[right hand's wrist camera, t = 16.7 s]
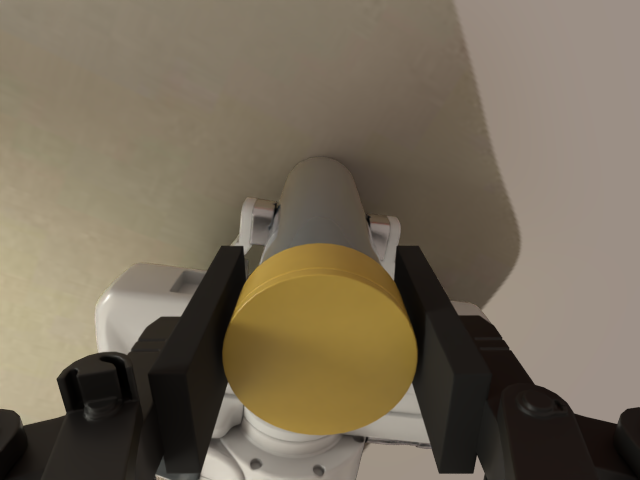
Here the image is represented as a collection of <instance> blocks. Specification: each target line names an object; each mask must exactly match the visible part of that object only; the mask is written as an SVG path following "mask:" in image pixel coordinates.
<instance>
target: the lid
mask: <svg viewBox="0 0 640 480" xmlns="http://www.w3.org/2000/svg"><path fill="white" fill-rule="evenodd" d="M222 360H223V367H224V372H225V375H226V378H227V380H228V383H229V385H230V387H231V389H232V390H233V392H234V394H235V395H236V396H237V398H238V399H239V400H240V402H241V403H242V404H243V405H244V406H245V407H246V408H247V409H248V410H250V411H251V412H252V413H253V414H255V415H256V416H257V417H259V418H260V419H262V420H264V421H265V422H267V423H269V424H271V425H273V426H276V427H278V428H281V429H284V430H287V431H291V432H295V433H300V434H307V435H334V434H340V433H346V432H350V431H353V430H357V429H359V428H362V427H365V426H367V425H369V424H371V423H373V422H375V421H377V420H378V419H380V418H381V417H383V416H384V415H386V414H387V413H388V412H389V411H391V410H392V409H393V408H394V407H395V406H396V405H397V404H398V403H399V402H400V401H401V400H402V398H403V397H404V395H405V394H406V393H407V391H408V389H409V387H410V385H411V383H412V381H413V379H414V376H415V373H416V368H417V363H418V346H417V339H416V336H415V333H414V330H413V327H412V324H411V322H410V319H409V316H408V313H407V311H406V308H405V305H404V303H403V300H402V297H401V294H400V292H399V290H398V288H397V286H396V284H395V282H394V280H393V279H392V278H391V276H390V275H389V273H388V272H387V271H386V270H385V269H384V268H383V267H382V266H381V265H380V264H378V263H377V262H376V261H375V260H373V259H372V258H370V257H368V256H367V255H365V254H363V253H361V252H359V251H357V250H354V249H352V248H348V247H345V246H341V245H335V244H326V243H314V244H305V245H300V246H295V247H292V248H289V249H286V250H283V251H281V252H279V253H277V254H275V255H273V256H272V257H270V258H269V259H267V260H266V261H264V262H263V263H262V264H261V265H260V266H258V267H257V268H256V269H255V270H254V272H253V273H252V274H251V275H250V276H249V278H248V279H247V281H246V282H245V284H244V286H243V288H242V290H241V292H240V295H239V298H238V300H237V303H236V306H235V309H234V311H233V314H232V317H231V319H230V322H229V325H228V328H227V330H226V334H225V337H224V341H223V349H222Z"/></svg>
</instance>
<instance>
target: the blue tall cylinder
mask: <svg viewBox="0 0 640 480" xmlns="http://www.w3.org/2000/svg"><path fill="white" fill-rule="evenodd" d="M314 243H326V244H335V245H341V246H345V247H348V248H352V249H354V250H357V251H359V252H361V253H363V254H365V255H367V256H368V257H370V258H372V259H373V260H375V261H376V262H377V263H378V264H380V265H381V266H382V264H381V261H380V258H379V255H378V252H377V249H376V246H375V243H374V240H373V237H372V233H371V230H370V227H369V224H368V221H367V218H366V215H365V212H364V209H363V206H362V203H361V200H360V197H359V194H358V190H357V187H356V184H355V181H354V178H353V176H352V174H351V173H350V172H349V170H348V169H347V168H346V167H345V166H344V165H343V164H341V163H340V162H338V161H336V160H334V159H331V158H327V157H313V158H309V159H306V160H304V161H302V162H300V163H299V164H297V165H296V166H295V167H294V168H293V169H292V170H291V172H290V173H289V175H288V177H287V179H286V182H285V185H284V188H283V191H282V194H281V197H280V200H279V203H278V206H277V209H276V212H275V215H274V218H273V222H272V225H271V228H270V231H269V234H268V237H267V240H266V243H265V246H264V249H263V252H262V255H261V258H260V262H259V265H258V266H260V265H261V264H262V263H263V262H264V261H266V260H267V259H269V258H270V257H272V256H273V255H275V254H277V253H279V252H281V251H283V250H286V249H289V248H292V247H295V246H300V245H305V244H314Z"/></svg>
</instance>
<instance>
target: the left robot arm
mask: <svg viewBox="0 0 640 480" xmlns="http://www.w3.org/2000/svg"><path fill="white" fill-rule="evenodd" d="M276 209H277V201H270V200H264V199H257V198H250V197H247V198H246V200H245V201H244V203H243V207H242V212H241V221H240V234H239V235H238V236H237V238H236V239H235V240H234V241H233V243H232V244H231V245H230V246H244V256H245V255H246V253H247V252H248V251H249V249H250V248H251V247H252V245H253V244H256V245H265V243H266V240H267V237H268V234H269V231H270V228H271V225H272V222H273V218H274V215H275V212H276ZM366 218H367V221H368V224H369V227H370V230H371V233H372V237H373V240H374V243H375V246H376V249H377V252H378V255H379V258H380V261H381V264H382V266H383V268H384V269H385V270H386V271H387V272H388V273H389V275H390V276H391V278H392V279H393V280H394V272H395V256H396V246H398V243H399V239H400V234H401V224H400V222H399V220H398V218H397V217H393V216H386V215H378V214H370V213H367V215H366ZM248 267H249V261H248V260H247V259H245V272H246V281H247V279H248V278H249V276H248ZM206 272H207V270H199V269H191V268H183V267H175V266H167V265H159V264H151V263H143V262H141V263H135V264H133V265H132V266H130V267H129V268H128V269H127V270H125V271H124V272H123V273H122V274H120V275H119V276H118V277H117V278H116V279H115V280H114V281H113V282H112V283H111V284H110V285H109V286H108V287H107V288H106V290H105V291H104V292H103V293H102V295H101V296H100V298H99V300H98V302H97V304H96V308H95V330H96V340H97V348H98V353H101V352H119V353H123V354H126V355H127V354H128V353H129V352H131V348H132V347H133V346H134V344H135V343H136V342H138V338H139V337H140V335H141V334H142V333H143V331H144V330H145V328H146V327H147V326H148V325H150V324H151V323H153V322H154V321H155V320H157V319H158V318H160V317H161V316H181V315H182V314H183V312H184V310H185V308H186V307H187V305H188V303H189V301H190V300H191V298H192V296H193V295H194V293H195V291H196V289H197V288H198V286H199V284H200V282H201V281H202V279H203V277H204V275H205V274H206ZM450 301H451V300H450ZM451 303H452V305H453V307H454V308H455V310H456V312H457V314H458V315H480V316H481V317H482V318H484V319H485V320H487V321H488V322H489V323H491V322H490V321H489V320H488V318H487V317H486V316H485V315H484V313H483V312H482V311H481V309H480V308H479V307H478V306H476V305H475V304H472V303H467V302H459V301H451ZM365 442H367V443H377V444H386V445H395V444H396V445H404V444H405V445H414V446H416V447H419V448H426V449H432V448H431V445H430V441H429V438H428V435H427V431H426V428H425V425H424V421H423V418H422V415H421V411H420V408H419V405H418V401H417V398H416V395H415V391H414V388H413V385H412V383H411V385H410V387H409V389H408V391H407V393H406V394H405V395H404V397H403V398H402V400H401V401H400V402H399V403H398V404H397V405H396V406H395V407H394V408H393V409H392V410H391V411H389V412H388V413H387V414H386V415H384V416H383V417H381V418H380V419H378V420H377V421H375V422H373V423H371V424H369V425H367V426H365V427H362V428H359V429H357V430H353V431H350V432H346V433H340V434H334V435H307V434H300V433H295V432H291V431H287V430H284V429H281V428H278V427H276V426H273V425H271V424H269V423H267V422H265V421H264V420H262V419H260V418H259V417H257V416H256V415H255V414H253V413H252V412H251V411H250V410H248V409H247V408H246V407H245V406H244V405H243V404H242V403H241V402H240V400H239V399H238V398H237V396H236V395H235V394H234V392H233V390H232V389H231V387H230V385H229V383H228V385H227V388H226V391H225V395H224V398H223V401H222V405H221V408H220V411H219V415H218V418H217V421H216V425H215V428H214V431H213V435H212V438H211V441H210V445H209V448H208V451H207V455H206V458H205V461H204V465H203V468H202V471H201V474H167V473H166V467H165V462H164V457H163V458H162V460H161V462H160V465H159V467H158V470H157V472H156V476H158V477H161V478H164V479H166V480H356V477H357V472H358V468H359V464H360V460H361V456H362V452H363V448H364V444H365Z"/></svg>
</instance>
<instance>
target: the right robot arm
mask: <svg viewBox="0 0 640 480" xmlns="http://www.w3.org/2000/svg"><path fill="white" fill-rule="evenodd" d="M245 282H246V272H245V259H244V246H221V248H220V249H219V251H218V253H217V255H216V256H215V258H214V260H213V262H212V263H211V265H210V267H209V269H208V270H207V272H206V274H205V275H204V277H203V279H202V281H201V282H200V284H199V286H198V288H197V289H196V291H195V293H194V295H193V296H192V298H191V300H190V301H189V303H188V305H187V307H186V308H185V310H184V312H183V314H182V315H181V316H161V317H160V318H158V319H157V320H155V321H154V322H153V323H151V324H150V325H148V326H147V327H146V328H145V330H144V331H143V333H142V334H141V335H140V337H139V338H138V342H136V343H135V344H134V346H133V347H132V348H131V352H129V353H128V354H127V355H126V354H123V353H119V352H101V353H97V354H93V355H89V356H86V357H84V358H82V359H80V360H78V361H75V362H74V363H72V364H71V365H70V366H68V367H67V368H65V369H64V370H63V371H62V373H61V374H60V375H59V377H58V378H57V382H58V385H59V389H60V392H61V396H62V399H63V402H64V406H65V409H66V412H67V413H66V415H65V416H62V417H58V418H55V419H50V420H46V421H42V422H37V423H33V424H29V425H25V426H23V424H22V421H21V418H20V416H19V415H18V414H17V413H16V412H14V411H12V410H5V409H0V480H156V472H157V470H158V467H159V465H160V462H161V460H162V458H163V457H164V462H165V467H166V473H167V474H201V471H202V468H203V465H204V461H205V458H206V455H207V451H208V448H209V445H210V441H211V438H212V435H213V431H214V428H215V425H216V421H217V418H218V415H219V411H220V408H221V405H222V401H223V398H224V395H225V391H226V388H227V385H228V380H227V378H226V375H225V372H224V367H223V360H222V349H223V341H224V337H225V334H226V330H227V328H228V325H229V322H230V319H231V317H232V314H233V311H234V309H235V306H236V303H237V300H238V298H239V295H240V292H241V290H242V288H243V286H244V284H245ZM394 282H395V284H396V286H397V288H398V290H399V292H400V294H401V297H402V300H403V303H404V305H405V308H406V311H407V313H408V316H409V319H410V322H411V324H412V327H413V330H414V333H415V336H416V339H417V346H418V363H417V368H416V373H415V376H414V379H413V381H412V385H413V388H414V391H415V395H416V398H417V401H418V405H419V408H420V411H421V415H422V418H423V421H424V425H425V428H426V431H427V435H428V438H429V441H430V445H431V448H432V451H433V455H434V458H435V461H436V465H437V468H438V471H439V473H440V474H449V473H450V474H472V473H473V472H474V467H475V462H476V457H477V455H478V458H479V460H480V463H481V465H482V468H483V470H484V472H485V476H484V480H640V407H637V408H630V409H627V410H625V411H624V412H623V413H622V414H621V415H620V418H619V421H618V424H614V423H610V422H606V421H601V420H597V419H593V418H588V417H584V416H581V415H578V414H574V413H573V411H572V409H571V408H570V406H569V405H568V403H567V402H566V401H564V400H563V399H562V398H561V397H560V396H558V395H557V394H556V393H554V392H552V391H550V390H548V389H546V388H544V387H540V386H537V385H535V384H534V383H533V381H532V380H531V378H530V377H529V375H528V374H527V373H526V371H525V370H524V368H523V367H522V365H521V364H520V363H519V361H518V360H517V358H516V357H515V355H514V354H513V352H512V351H511V350H509V347H508V345H507V344H506V342H505V341H504V340H502V337H501V335H500V334H499V332H498V331H497V329H496V328H495V327H494V325H492V324H491V323H489V322H488V321H487V320H485V319H484V318H482V317H481V316H480V315H458V314H457V312H456V310H455V308H454V307H453V305H452V303H451V301H450V300H449V298H448V296H447V295H446V293H445V291H444V289H443V288H442V286H441V284H440V282H439V281H438V279H437V277H436V275H435V274H434V272H433V270H432V269H431V267H430V265H429V263H428V262H427V260H426V258H425V256H424V255H423V253H422V251H421V249H420V248H419V246H396V259H395V272H394Z"/></svg>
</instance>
